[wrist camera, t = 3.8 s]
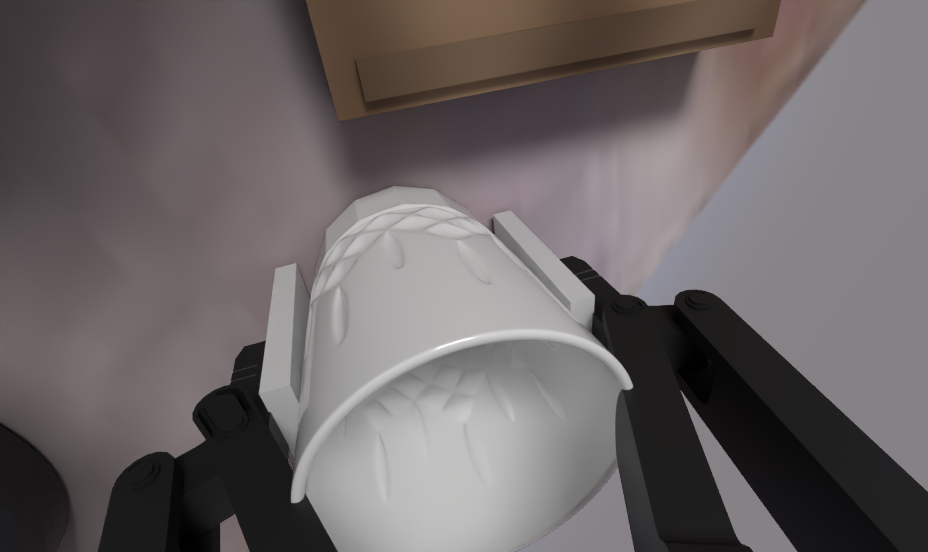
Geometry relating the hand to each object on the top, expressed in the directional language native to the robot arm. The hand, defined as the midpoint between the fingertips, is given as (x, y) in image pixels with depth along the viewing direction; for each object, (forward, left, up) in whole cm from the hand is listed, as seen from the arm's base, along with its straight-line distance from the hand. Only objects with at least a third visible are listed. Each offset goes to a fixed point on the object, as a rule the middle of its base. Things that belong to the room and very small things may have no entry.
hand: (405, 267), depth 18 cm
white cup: (0, 0, 0) cm, 0 cm away
